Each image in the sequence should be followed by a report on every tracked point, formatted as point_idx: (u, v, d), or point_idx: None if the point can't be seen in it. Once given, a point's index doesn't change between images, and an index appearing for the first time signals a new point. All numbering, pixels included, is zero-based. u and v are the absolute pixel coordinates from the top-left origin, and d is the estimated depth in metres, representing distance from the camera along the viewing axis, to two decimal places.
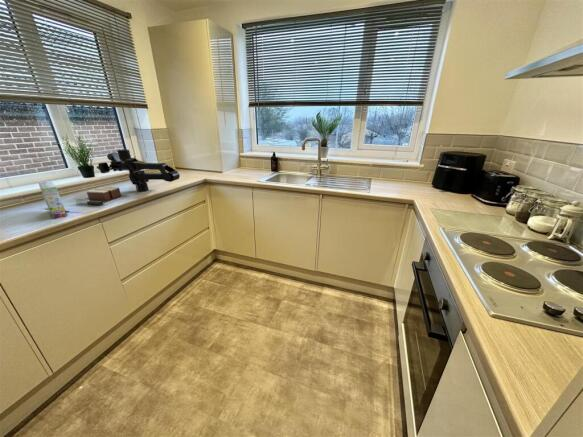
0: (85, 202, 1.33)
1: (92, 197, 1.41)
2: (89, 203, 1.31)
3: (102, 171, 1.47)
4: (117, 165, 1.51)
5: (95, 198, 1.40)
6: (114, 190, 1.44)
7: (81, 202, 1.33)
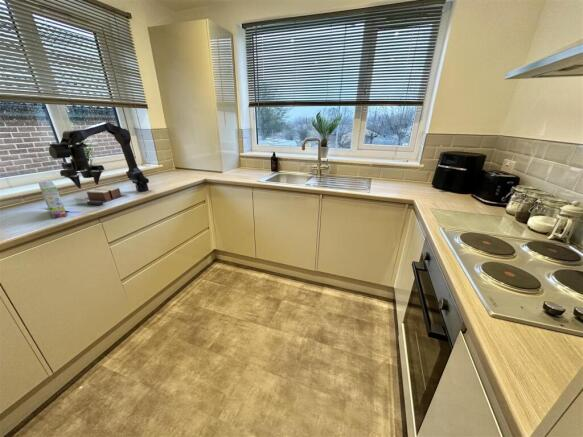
0: (85, 202, 1.33)
1: (92, 197, 1.41)
2: (89, 203, 1.31)
3: (67, 173, 1.16)
4: (73, 160, 1.21)
5: (95, 198, 1.40)
6: (114, 190, 1.44)
7: (81, 202, 1.33)
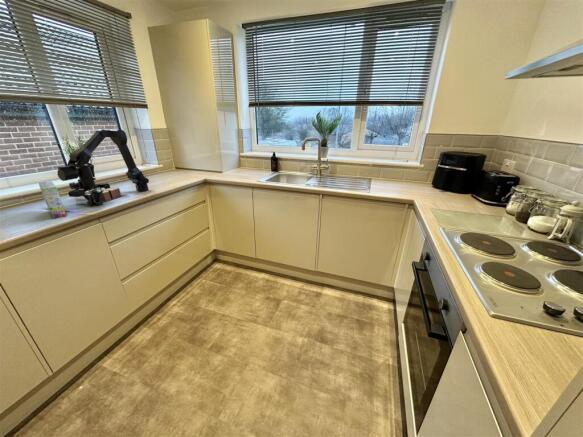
0: (85, 202, 1.33)
1: None
2: (89, 203, 1.31)
3: (75, 194, 1.20)
4: (80, 180, 1.24)
5: None
6: (114, 190, 1.44)
7: (81, 202, 1.33)
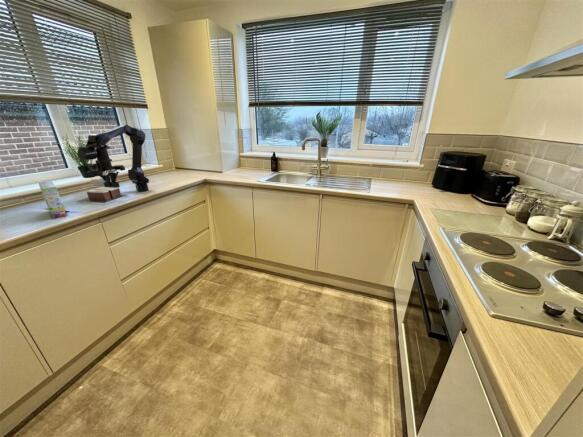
0: (102, 183, 1.39)
1: (92, 197, 1.41)
2: (106, 184, 1.37)
3: (93, 173, 1.26)
4: (98, 161, 1.30)
5: (95, 198, 1.40)
6: (114, 190, 1.44)
7: (98, 183, 1.39)
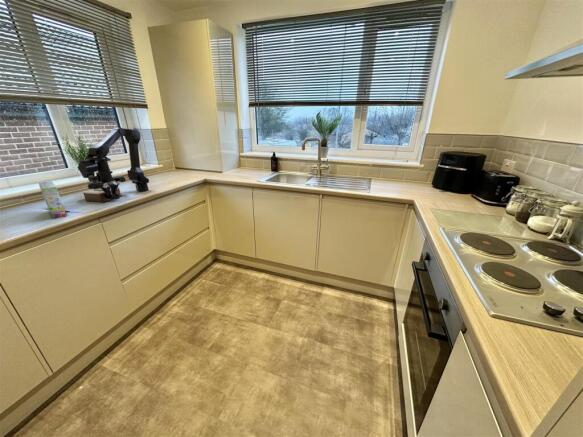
0: None
1: (88, 198, 1.39)
2: (106, 195, 1.38)
3: (94, 186, 1.26)
4: (98, 174, 1.31)
5: (91, 199, 1.39)
6: None
7: None
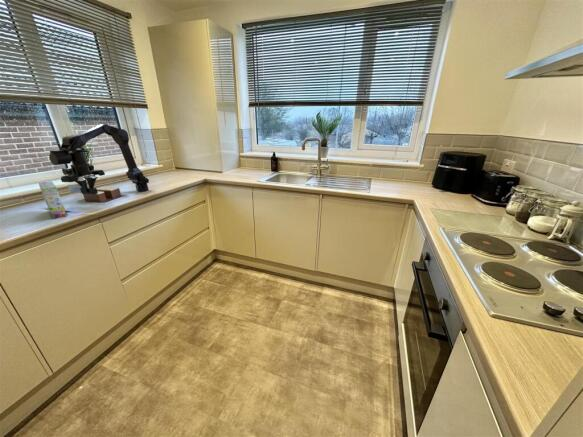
0: (78, 189, 1.29)
1: (88, 198, 1.39)
2: (82, 190, 1.27)
3: (67, 179, 1.16)
4: (73, 166, 1.21)
5: (91, 199, 1.38)
6: (114, 190, 1.44)
7: (74, 189, 1.29)
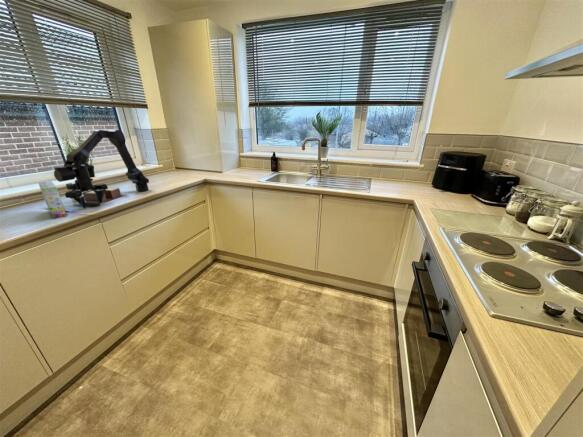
0: None
1: (88, 198, 1.39)
2: (86, 204, 1.30)
3: (72, 195, 1.18)
4: (77, 181, 1.23)
5: (91, 199, 1.38)
6: (114, 190, 1.44)
7: (78, 203, 1.32)
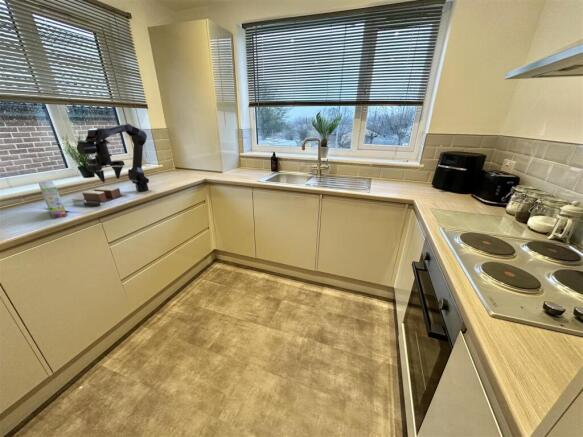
0: (82, 203, 1.31)
1: (88, 198, 1.39)
2: (86, 204, 1.30)
3: (93, 168, 1.26)
4: (97, 156, 1.30)
5: (91, 199, 1.38)
6: (114, 190, 1.44)
7: (78, 203, 1.32)
